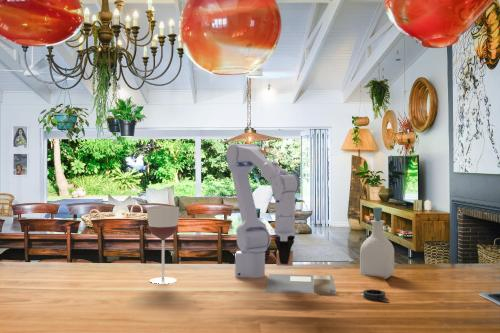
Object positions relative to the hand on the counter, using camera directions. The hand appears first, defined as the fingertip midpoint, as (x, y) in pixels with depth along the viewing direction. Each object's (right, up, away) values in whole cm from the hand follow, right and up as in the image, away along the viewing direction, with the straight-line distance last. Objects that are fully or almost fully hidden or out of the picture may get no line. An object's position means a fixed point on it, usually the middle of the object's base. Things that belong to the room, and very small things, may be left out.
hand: (284, 261), depth 148 cm
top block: (+10, -7, -4) cm, 13 cm away
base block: (0, -1, 0) cm, 1 cm away
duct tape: (+23, -9, -11) cm, 28 cm away
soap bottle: (+32, -8, +18) cm, 37 cm away
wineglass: (-37, -8, +11) cm, 40 cm away
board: (+5, -8, +4) cm, 10 cm away
